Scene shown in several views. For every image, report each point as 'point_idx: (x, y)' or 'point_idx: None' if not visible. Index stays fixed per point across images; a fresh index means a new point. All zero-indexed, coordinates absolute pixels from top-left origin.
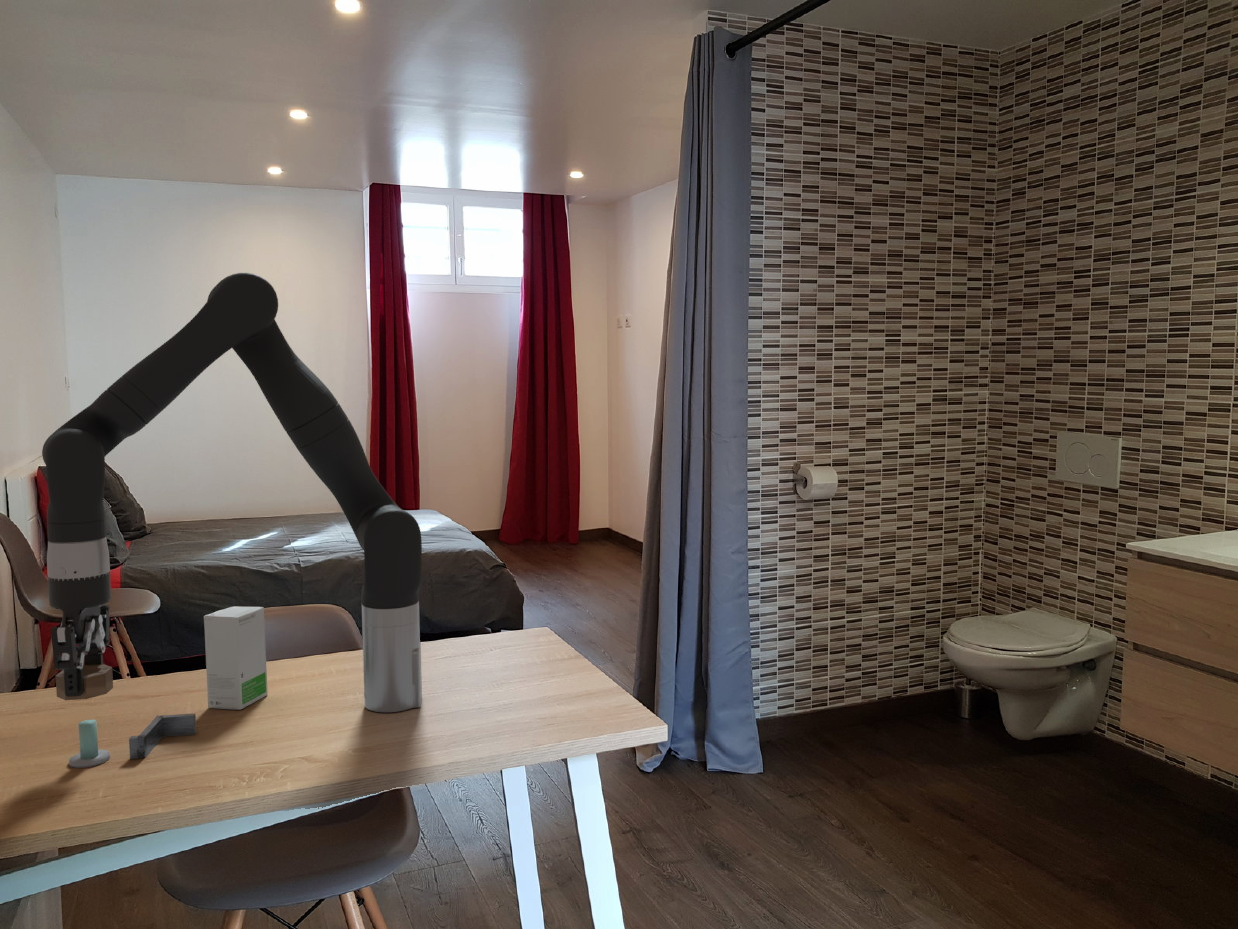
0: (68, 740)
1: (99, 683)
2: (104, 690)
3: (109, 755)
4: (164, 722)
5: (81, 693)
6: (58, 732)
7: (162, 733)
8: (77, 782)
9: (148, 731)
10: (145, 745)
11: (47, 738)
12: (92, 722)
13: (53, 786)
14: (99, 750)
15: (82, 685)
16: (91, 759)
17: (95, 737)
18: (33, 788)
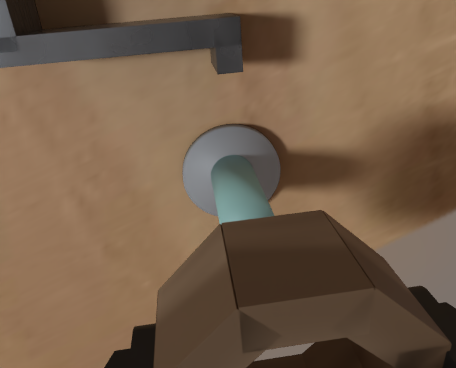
0: (88, 284)
1: (371, 267)
2: (335, 225)
3: (216, 129)
4: (20, 25)
5: (424, 290)
6: (36, 330)
7: (39, 30)
8: (367, 133)
9: (173, 27)
10: (225, 15)
11: (78, 332)
12: (253, 211)
13: (376, 177)
14: (191, 169)
15: (443, 318)
16: (254, 160)
17: (247, 179)
18: (375, 213)
